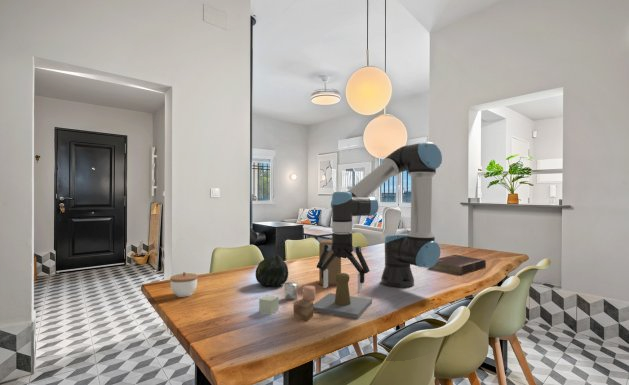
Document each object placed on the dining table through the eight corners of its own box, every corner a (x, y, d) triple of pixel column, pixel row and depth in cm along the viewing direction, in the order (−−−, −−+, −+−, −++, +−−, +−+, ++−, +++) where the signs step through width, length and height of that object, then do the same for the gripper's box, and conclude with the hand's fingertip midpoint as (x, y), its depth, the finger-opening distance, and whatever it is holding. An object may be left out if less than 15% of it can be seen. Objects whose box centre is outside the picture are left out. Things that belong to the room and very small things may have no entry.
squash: (251, 269, 159) (257, 250, 150) (281, 268, 165) (288, 249, 156) (256, 295, 149) (262, 276, 140) (287, 293, 155) (295, 274, 146)
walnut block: (313, 316, 113) (313, 302, 113) (306, 321, 109) (306, 306, 109) (300, 314, 115) (300, 300, 115) (293, 319, 111) (293, 304, 111)
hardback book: (460, 275, 171) (460, 266, 171) (428, 269, 186) (428, 260, 186) (485, 268, 190) (485, 259, 190) (454, 262, 204) (454, 254, 204)
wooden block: (341, 280, 161) (341, 239, 161) (340, 285, 151) (340, 242, 151) (320, 279, 162) (320, 239, 162) (319, 285, 152) (319, 242, 152)
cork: (333, 300, 126) (333, 271, 126) (349, 300, 126) (349, 271, 126) (335, 305, 120) (335, 275, 120) (352, 305, 120) (352, 275, 120)
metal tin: (299, 297, 134) (299, 283, 134) (293, 301, 129) (293, 286, 129) (288, 296, 136) (288, 281, 136) (282, 299, 131) (282, 284, 131)
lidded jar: (191, 289, 145) (191, 268, 145) (202, 294, 138) (202, 272, 138) (166, 294, 138) (166, 272, 138) (176, 300, 130) (176, 276, 130)
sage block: (278, 310, 119) (278, 296, 119) (271, 315, 115) (271, 300, 115) (267, 308, 121) (267, 294, 121) (259, 312, 117) (259, 298, 117)
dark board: (372, 303, 127) (372, 299, 127) (357, 318, 111) (357, 314, 111) (329, 296, 135) (329, 293, 135) (310, 310, 119) (310, 306, 119)
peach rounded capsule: (317, 298, 132) (317, 286, 132) (311, 302, 128) (311, 289, 128) (306, 297, 135) (306, 284, 135) (300, 300, 130) (300, 288, 130)
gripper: (377, 233, 121) (377, 290, 121) (316, 230, 132) (316, 283, 132) (371, 235, 114) (372, 296, 114) (308, 232, 125) (308, 287, 125)
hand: (342, 289), depth 123 cm, fingers open, 13 cm apart
